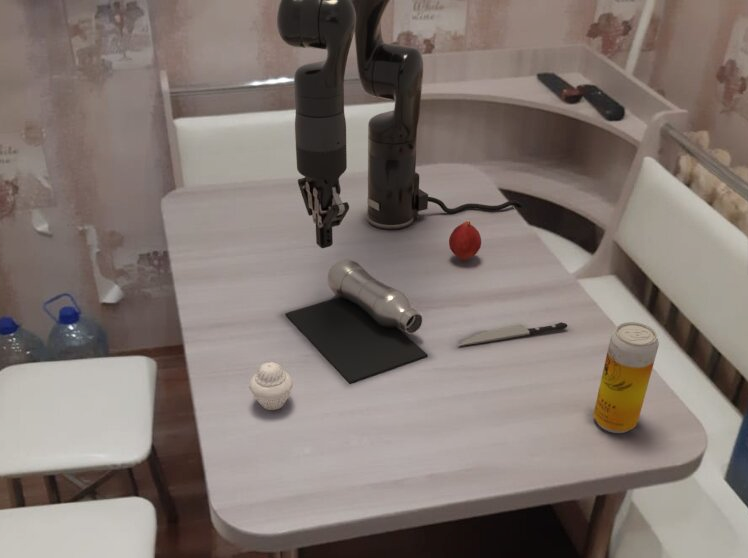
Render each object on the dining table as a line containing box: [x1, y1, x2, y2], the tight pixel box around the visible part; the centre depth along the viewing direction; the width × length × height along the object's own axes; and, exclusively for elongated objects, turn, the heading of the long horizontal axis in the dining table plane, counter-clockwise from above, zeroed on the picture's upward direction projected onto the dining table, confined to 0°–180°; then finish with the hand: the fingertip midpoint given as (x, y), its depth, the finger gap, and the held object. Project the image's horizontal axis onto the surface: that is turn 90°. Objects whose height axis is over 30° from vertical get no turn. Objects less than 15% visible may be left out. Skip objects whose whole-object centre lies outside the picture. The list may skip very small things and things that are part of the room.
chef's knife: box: [457, 322, 568, 347], centre depth 133 cm, size 19×1×3 cm
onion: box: [448, 219, 482, 261], centre depth 151 cm, size 6×6×8 cm
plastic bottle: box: [327, 258, 424, 335], centre depth 136 cm, size 6×7×20 cm
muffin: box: [249, 361, 293, 411], centre depth 118 cm, size 6×6×7 cm
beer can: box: [593, 321, 660, 434], centre depth 112 cm, size 6×6×15 cm
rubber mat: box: [284, 296, 428, 384], centre depth 133 cm, size 14×22×1 cm, turn 30°
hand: (324, 245), depth 133 cm, fingers closed
